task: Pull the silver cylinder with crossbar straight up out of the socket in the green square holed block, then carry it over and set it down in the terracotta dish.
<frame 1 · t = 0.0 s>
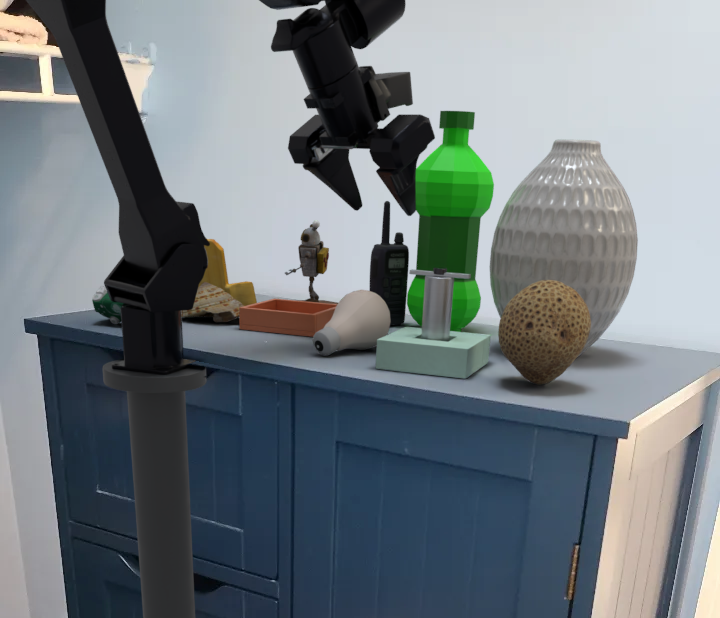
hand: (384, 211, 110), 14 cm above the table, tool tilted 35°, fingers open, 9 cm apart
dish: (293, 327, 121), on the table
silver cylinder with crossbar: (436, 317, 100), in the green square holed block
green square holed block: (433, 365, 102), on the table
vase: (550, 354, 112), on the table
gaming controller: (130, 326, 119), on the table
two-way radio: (383, 325, 127), on the table
seashell: (215, 321, 124), on the table
robot figurine: (314, 313, 134), on the table
light bulb: (348, 352, 108), on the table
natural sponge: (535, 387, 95), on the table
plastic bottle: (441, 331, 124), on the table
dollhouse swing: (211, 306, 136), on the table
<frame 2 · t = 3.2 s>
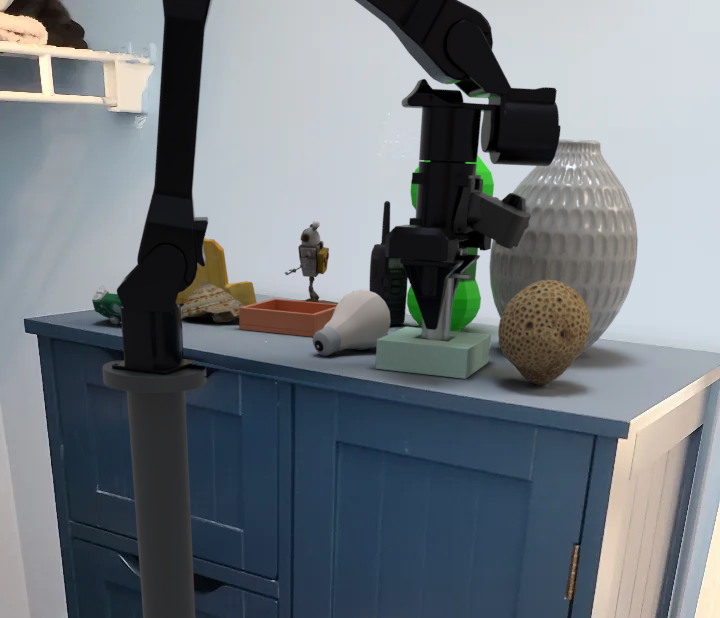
hand: (435, 327, 100), 4 cm above the table, tool pointing down, fingers closed on silver cylinder with crossbar, 3 cm apart
silver cylinder with crossbar: (436, 317, 100), in the green square holed block, touching gripper
everything else where it was.
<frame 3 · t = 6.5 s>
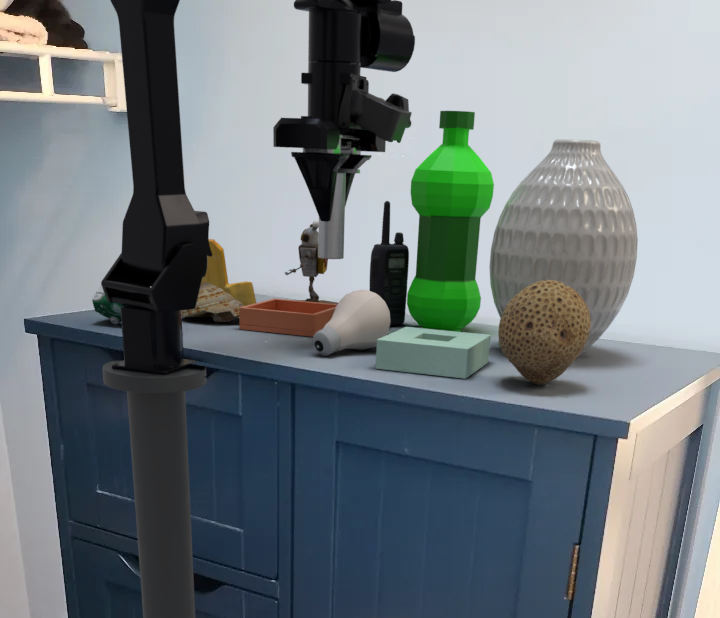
hand: (331, 220, 110), 13 cm above the table, tool pointing down, fingers closed on silver cylinder with crossbar, 3 cm apart
silver cylinder with crossbar: (331, 212, 110), point 14 cm above the table, touching gripper
everything else where it was.
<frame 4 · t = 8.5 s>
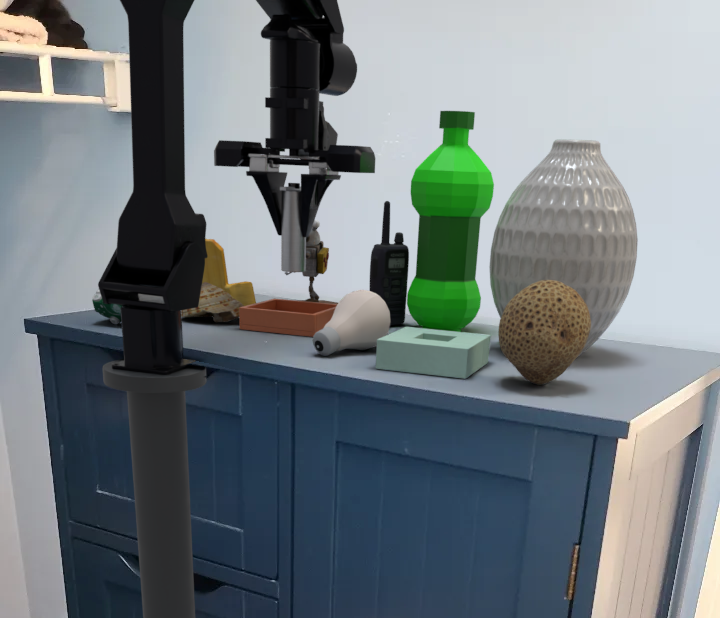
hand: (293, 236, 116), 11 cm above the table, tool pointing down, fingers closed on silver cylinder with crossbar, 3 cm apart
silver cylinder with crossbar: (293, 227, 116), point 12 cm above the table, touching gripper
everything else where it was.
when the fingers open (5 cm above the table, at t = 10.3 s): silver cylinder with crossbar stays where it is, resting on dish.
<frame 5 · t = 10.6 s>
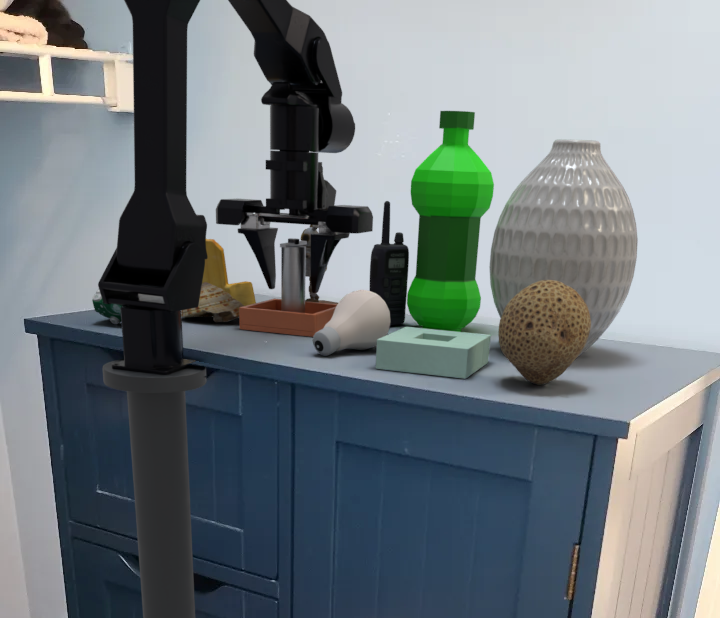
hand: (293, 290, 119), 4 cm above the table, tool pointing down, fingers open, 6 cm apart
silver cylinder with crossbar: (293, 281, 119), in the dish, point 6 cm above the table
everything else where it was.
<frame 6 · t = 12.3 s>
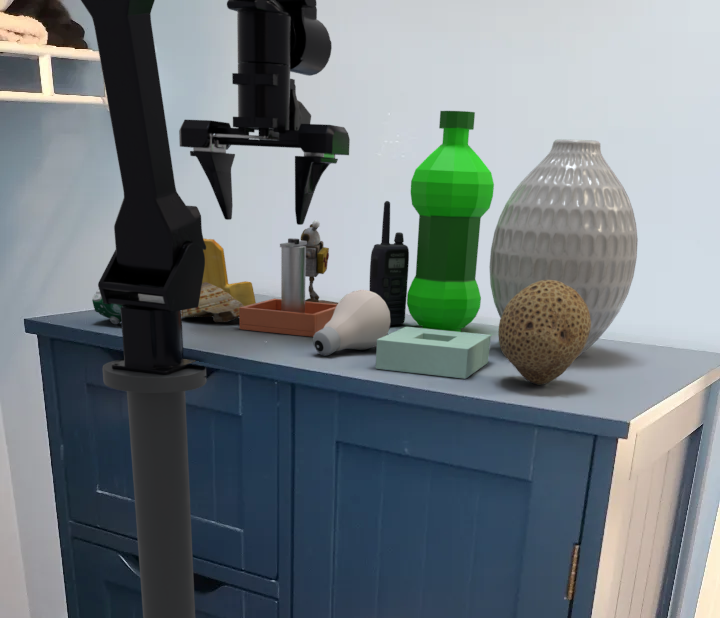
hand: (263, 222, 110), 13 cm above the table, tool pointing down, fingers open, 9 cm apart
nothing on the table moved.
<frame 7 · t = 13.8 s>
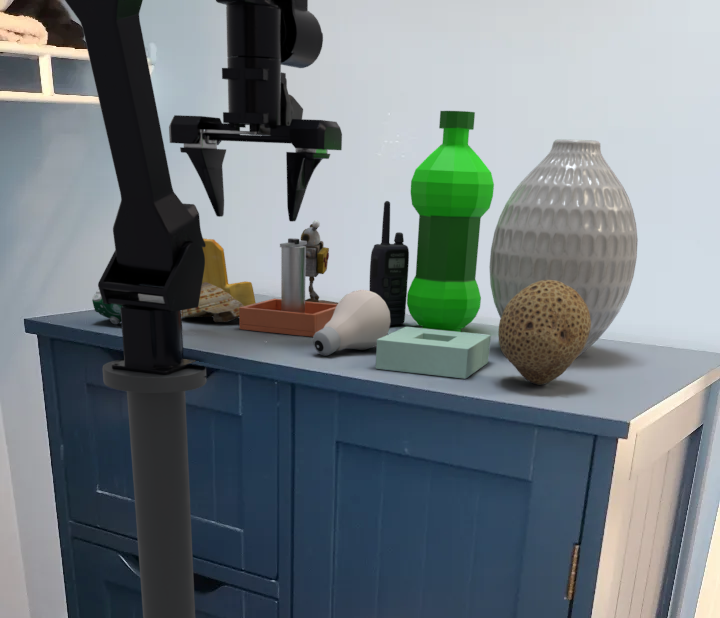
hand: (255, 218, 108), 13 cm above the table, tool pointing down, fingers open, 9 cm apart
nothing on the table moved.
at the end: silver cylinder with crossbar inside the target area on the dish (0.0 cm from its centre), point 5.5 cm above the dish's base; silver cylinder with crossbar touching dish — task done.
